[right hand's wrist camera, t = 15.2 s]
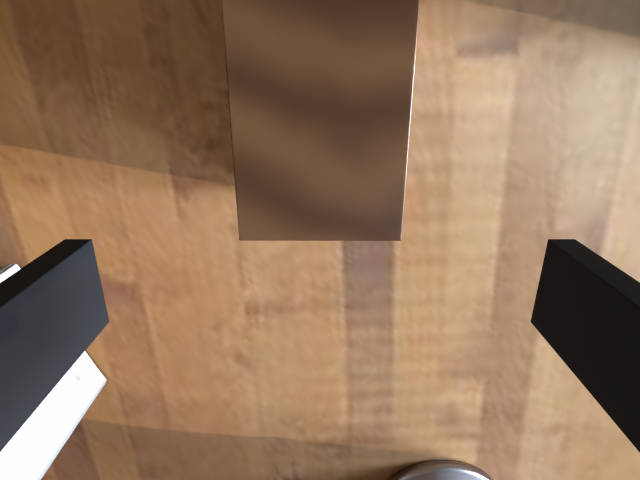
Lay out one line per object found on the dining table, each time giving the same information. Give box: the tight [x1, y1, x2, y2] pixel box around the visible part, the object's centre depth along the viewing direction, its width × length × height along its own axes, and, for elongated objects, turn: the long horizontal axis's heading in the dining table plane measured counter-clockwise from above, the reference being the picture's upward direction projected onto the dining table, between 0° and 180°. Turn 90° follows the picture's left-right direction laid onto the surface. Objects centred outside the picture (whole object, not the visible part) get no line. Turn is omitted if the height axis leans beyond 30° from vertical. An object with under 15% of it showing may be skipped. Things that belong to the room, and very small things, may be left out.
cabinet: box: [222, 0, 420, 241], centre depth 29 cm, size 18×10×12 cm, turn 0°
